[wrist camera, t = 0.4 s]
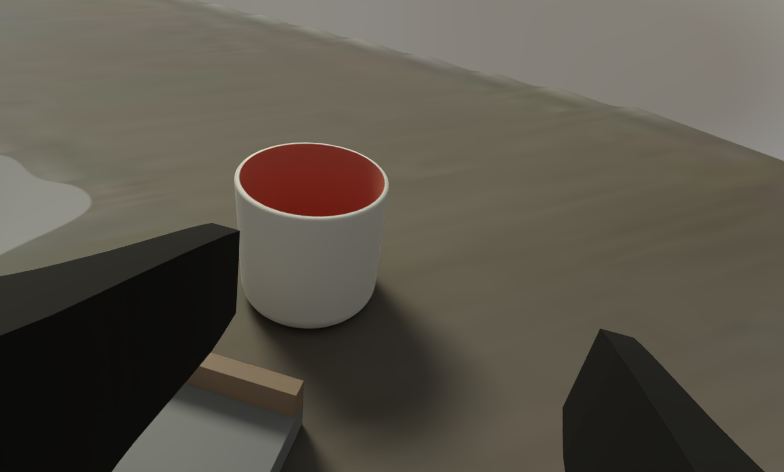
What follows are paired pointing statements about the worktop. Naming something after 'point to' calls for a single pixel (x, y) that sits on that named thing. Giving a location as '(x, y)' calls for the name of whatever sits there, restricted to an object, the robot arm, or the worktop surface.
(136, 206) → the worktop surface
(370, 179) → the cup
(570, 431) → the robot arm
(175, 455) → the trap board
